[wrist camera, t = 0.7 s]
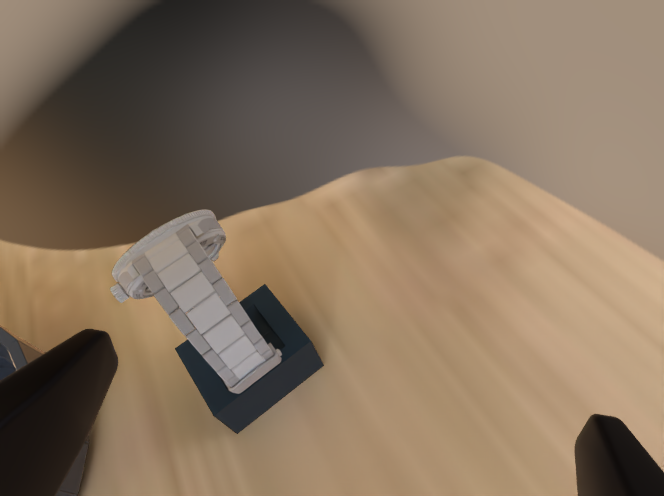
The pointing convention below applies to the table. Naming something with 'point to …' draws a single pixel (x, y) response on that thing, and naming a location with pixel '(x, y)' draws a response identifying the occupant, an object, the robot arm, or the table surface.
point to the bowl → (12, 354)
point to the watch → (217, 320)
